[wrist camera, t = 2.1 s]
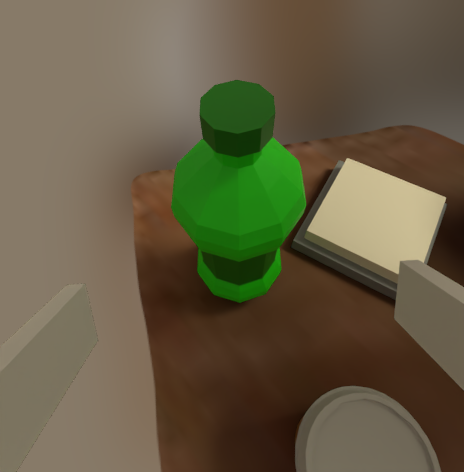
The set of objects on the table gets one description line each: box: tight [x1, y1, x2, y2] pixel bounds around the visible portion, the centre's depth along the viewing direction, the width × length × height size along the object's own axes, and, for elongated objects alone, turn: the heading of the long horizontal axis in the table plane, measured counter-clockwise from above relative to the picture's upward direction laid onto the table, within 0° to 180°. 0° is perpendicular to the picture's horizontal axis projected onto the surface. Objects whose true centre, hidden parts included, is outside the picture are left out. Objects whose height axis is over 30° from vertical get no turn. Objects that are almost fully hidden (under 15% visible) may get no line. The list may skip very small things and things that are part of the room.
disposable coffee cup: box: [295, 386, 441, 472], centre depth 25 cm, size 10×10×12 cm
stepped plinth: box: [291, 158, 447, 300], centre depth 40 cm, size 15×15×4 cm
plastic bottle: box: [171, 80, 306, 303], centre depth 28 cm, size 10×10×25 cm
